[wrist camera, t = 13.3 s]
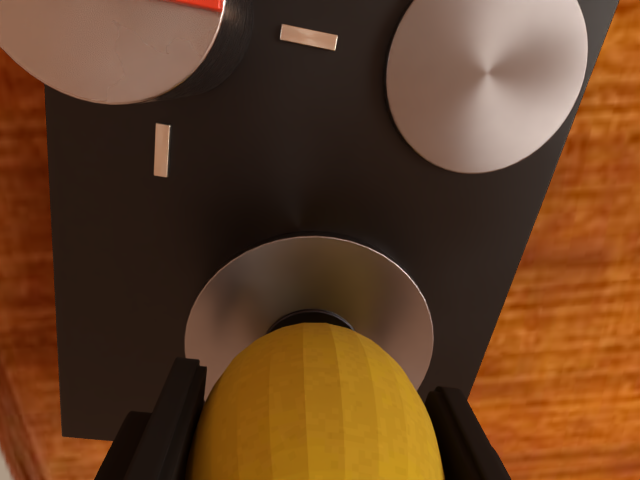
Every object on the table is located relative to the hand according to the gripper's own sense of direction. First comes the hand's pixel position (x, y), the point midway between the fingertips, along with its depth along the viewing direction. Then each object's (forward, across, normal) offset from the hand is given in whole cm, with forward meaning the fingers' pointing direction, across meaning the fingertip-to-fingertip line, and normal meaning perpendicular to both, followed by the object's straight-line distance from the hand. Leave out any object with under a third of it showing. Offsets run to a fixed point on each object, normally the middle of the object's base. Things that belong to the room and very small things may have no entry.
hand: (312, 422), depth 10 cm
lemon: (+3, 0, 0) cm, 3 cm away
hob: (+6, +1, -4) cm, 8 cm away
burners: (+3, -1, -4) cm, 5 cm away
